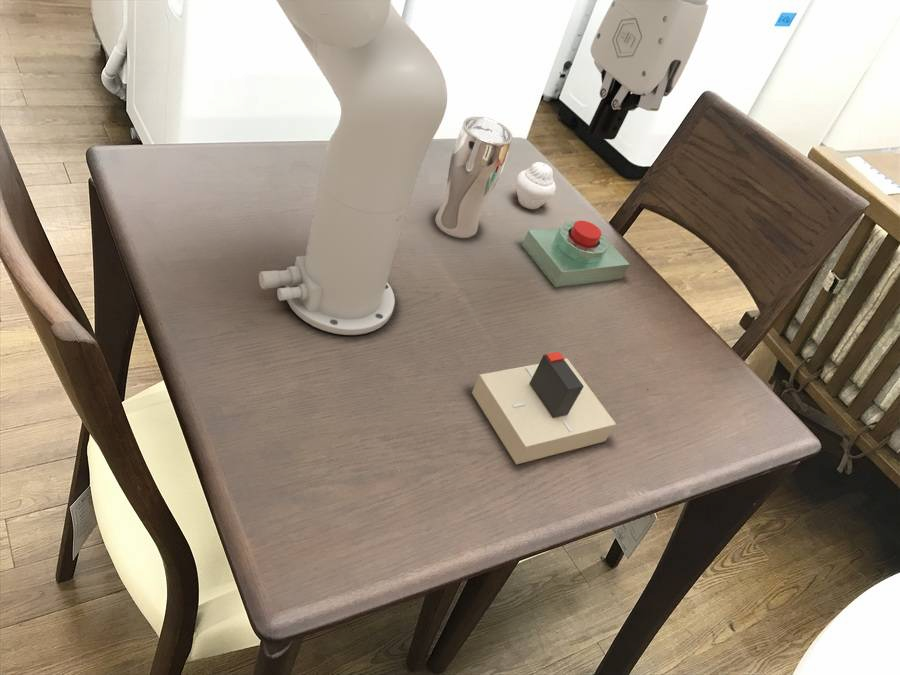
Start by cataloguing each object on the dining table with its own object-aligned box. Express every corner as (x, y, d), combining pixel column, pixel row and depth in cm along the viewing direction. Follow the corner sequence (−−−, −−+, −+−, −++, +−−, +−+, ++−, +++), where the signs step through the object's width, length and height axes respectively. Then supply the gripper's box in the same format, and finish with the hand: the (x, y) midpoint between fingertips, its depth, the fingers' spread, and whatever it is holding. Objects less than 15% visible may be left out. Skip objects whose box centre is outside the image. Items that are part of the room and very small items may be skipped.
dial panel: (516, 464, 78) (526, 445, 76) (471, 392, 84) (479, 373, 82) (605, 441, 84) (617, 423, 82) (558, 375, 90) (567, 357, 88)
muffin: (501, 197, 116) (516, 157, 111) (525, 187, 120) (540, 148, 115) (532, 219, 114) (548, 180, 109) (555, 209, 118) (572, 170, 113)
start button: (579, 249, 103) (584, 239, 102) (564, 231, 106) (568, 221, 105) (602, 247, 105) (607, 237, 104) (586, 229, 108) (591, 219, 107)
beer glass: (475, 246, 104) (510, 151, 95) (426, 229, 104) (457, 132, 94) (483, 220, 110) (517, 127, 100) (437, 204, 110) (467, 109, 100)
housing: (554, 287, 103) (567, 261, 100) (521, 245, 108) (532, 219, 105) (621, 279, 109) (635, 254, 106) (587, 239, 114) (599, 215, 111)
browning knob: (567, 414, 81) (585, 384, 78) (552, 418, 80) (569, 387, 77) (543, 380, 84) (559, 350, 81) (529, 383, 83) (544, 352, 80)
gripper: (608, -63, 79) (541, 100, 90) (701, 1, 70) (613, 172, 82) (659, -52, 83) (589, 103, 94) (753, 11, 74) (662, 172, 86)
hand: (600, 135), depth 88 cm, fingers closed
